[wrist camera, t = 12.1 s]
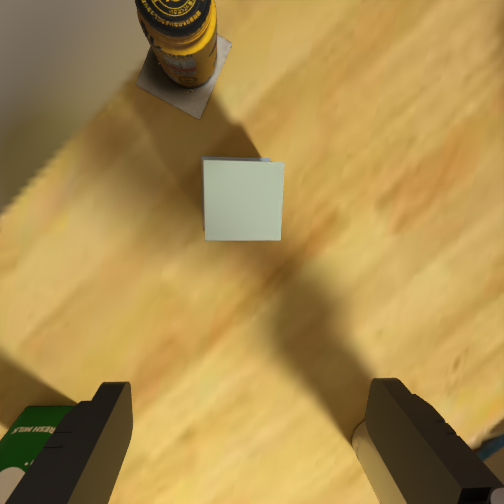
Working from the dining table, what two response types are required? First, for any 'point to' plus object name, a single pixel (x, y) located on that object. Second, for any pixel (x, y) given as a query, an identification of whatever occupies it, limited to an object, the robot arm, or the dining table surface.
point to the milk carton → (26, 443)
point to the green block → (243, 200)
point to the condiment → (181, 51)
